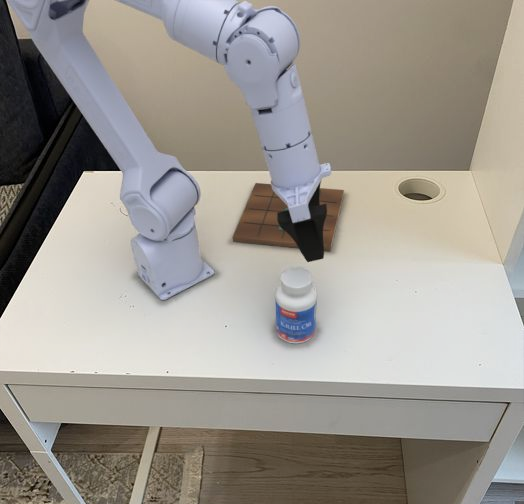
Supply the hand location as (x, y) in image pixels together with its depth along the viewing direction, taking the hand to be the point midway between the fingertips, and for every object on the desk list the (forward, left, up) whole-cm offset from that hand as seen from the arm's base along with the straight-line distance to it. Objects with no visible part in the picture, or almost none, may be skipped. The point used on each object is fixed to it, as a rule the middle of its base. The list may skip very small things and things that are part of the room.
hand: (314, 242), depth 69 cm
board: (+12, +19, -12) cm, 26 cm away
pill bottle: (-4, -2, -12) cm, 13 cm away
